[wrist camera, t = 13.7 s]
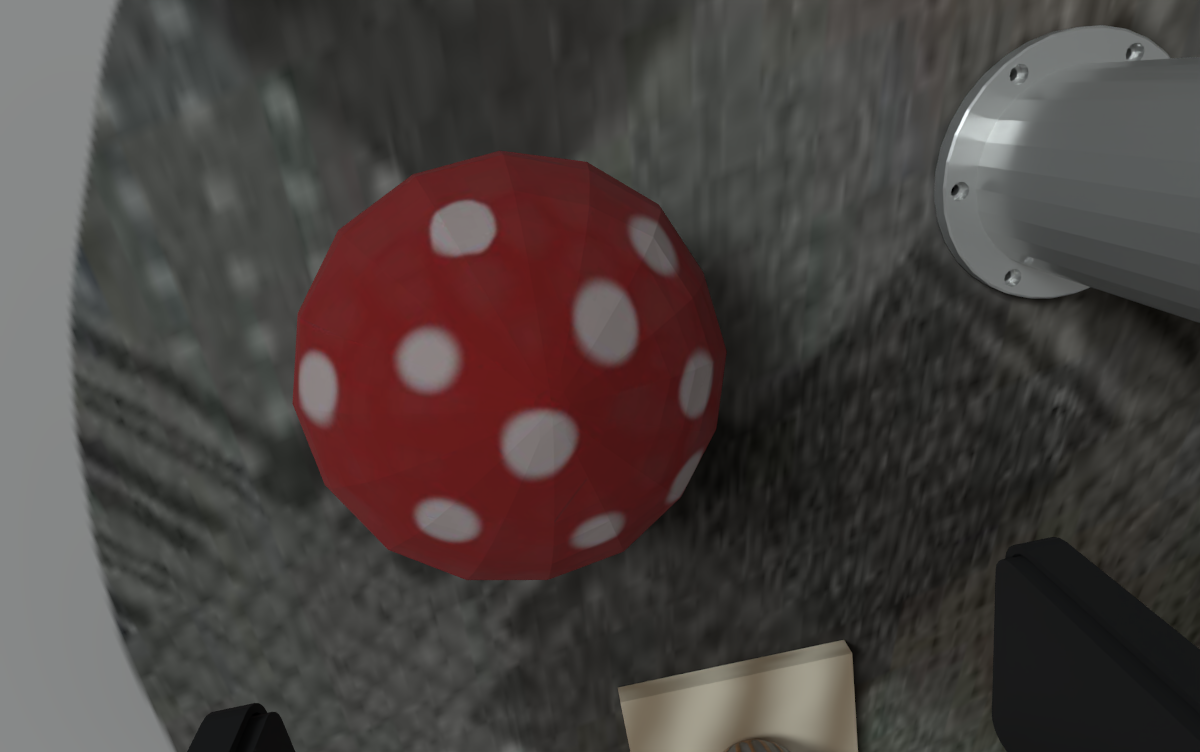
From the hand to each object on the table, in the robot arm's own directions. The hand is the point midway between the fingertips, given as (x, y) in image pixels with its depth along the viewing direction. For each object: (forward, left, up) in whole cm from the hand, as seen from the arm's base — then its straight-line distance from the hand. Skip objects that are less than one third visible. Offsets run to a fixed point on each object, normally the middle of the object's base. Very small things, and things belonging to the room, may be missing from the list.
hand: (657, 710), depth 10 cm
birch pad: (-6, +33, -28) cm, 44 cm away
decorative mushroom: (+2, +2, -28) cm, 29 cm away
